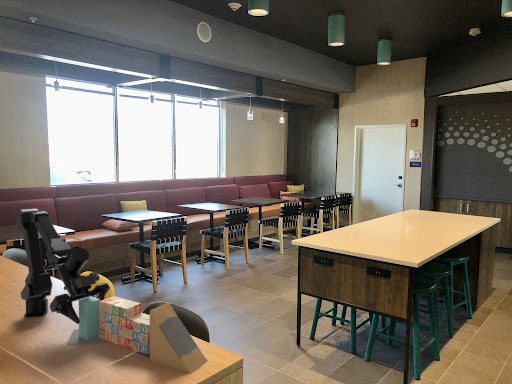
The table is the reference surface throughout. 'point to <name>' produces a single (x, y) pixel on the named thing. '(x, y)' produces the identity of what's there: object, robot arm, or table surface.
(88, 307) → the teal block
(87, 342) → the charcoal mat
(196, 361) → the sandwich container
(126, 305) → the stack of blocks
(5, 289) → the table surface
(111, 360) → the table surface
